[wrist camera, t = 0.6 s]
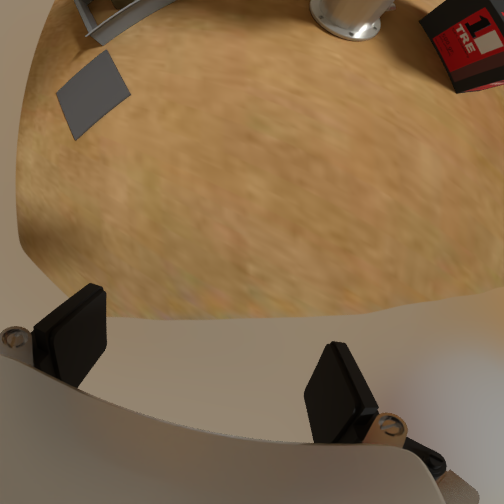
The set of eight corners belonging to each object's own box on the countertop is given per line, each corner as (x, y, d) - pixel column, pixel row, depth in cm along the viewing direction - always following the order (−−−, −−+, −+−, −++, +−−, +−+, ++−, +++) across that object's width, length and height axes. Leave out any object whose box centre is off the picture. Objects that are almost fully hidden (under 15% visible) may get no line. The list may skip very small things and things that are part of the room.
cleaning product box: (418, 21, 29) (474, -21, 10) (445, 23, 28) (499, -9, 9) (456, 93, 33) (529, 73, 13) (479, 90, 32) (545, 75, 13)
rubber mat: (107, 50, 31) (106, 49, 31) (131, 94, 34) (130, 94, 33) (57, 93, 33) (56, 92, 32) (76, 140, 35) (75, 140, 35)
